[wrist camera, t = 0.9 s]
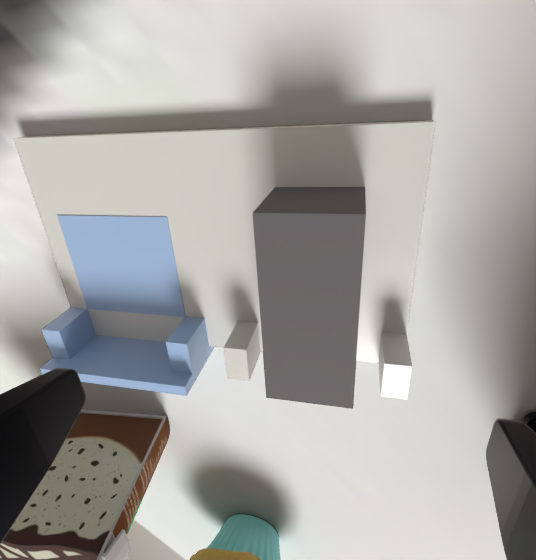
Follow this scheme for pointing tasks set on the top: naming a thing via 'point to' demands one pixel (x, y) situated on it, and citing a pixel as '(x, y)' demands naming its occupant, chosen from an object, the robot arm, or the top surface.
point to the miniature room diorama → (213, 242)
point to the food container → (90, 490)
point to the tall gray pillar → (310, 291)
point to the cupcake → (242, 541)
